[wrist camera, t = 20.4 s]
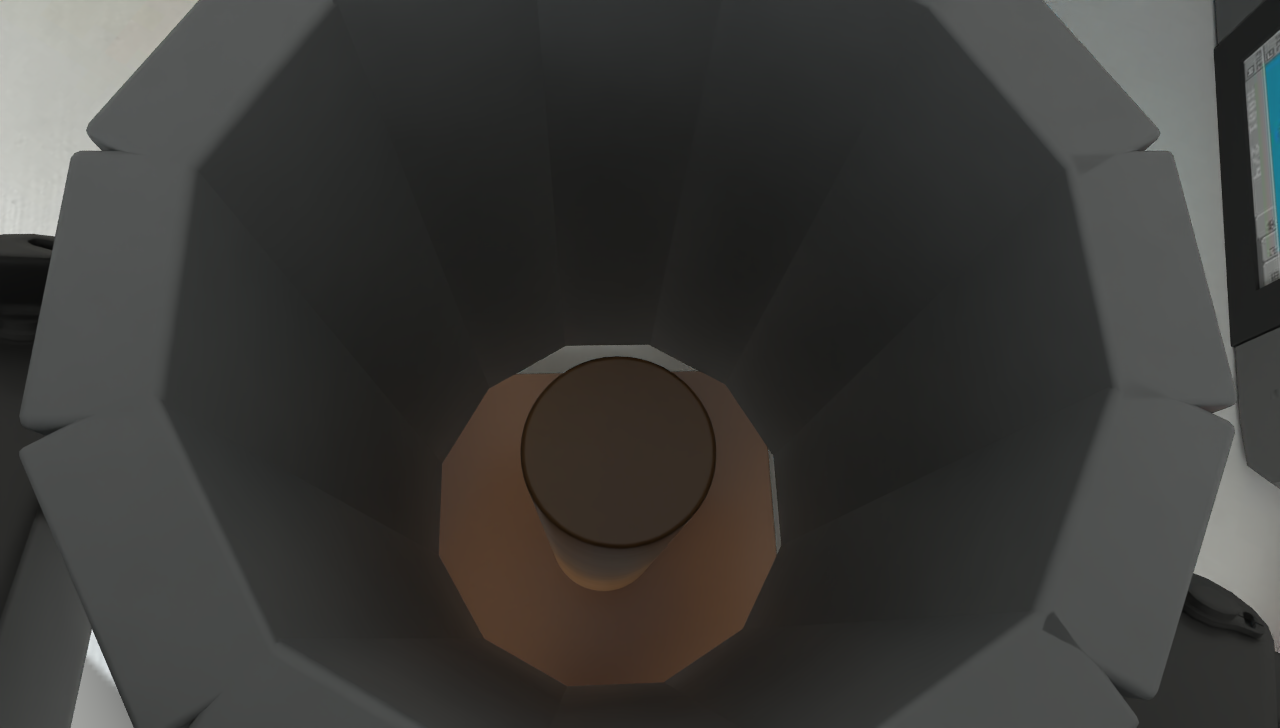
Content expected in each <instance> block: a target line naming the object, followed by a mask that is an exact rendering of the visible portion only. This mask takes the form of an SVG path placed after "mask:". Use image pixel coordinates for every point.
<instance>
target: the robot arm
mask: <svg viewBox="0 0 1280 728" xmlns="http://www.w3.org/2000/svg"><path fill="white" fill-rule="evenodd" d="M54 240H55V237H54V236H45V235H37V234H3V235H0V728H70V727H71V723H72V718H73V713H74V709H75V704H76V699H77V695H78V690H79V686H80V681H81V677H82V672H83V667H84V663H85V658H86V654H87V649H88V644H89V640H90V635H91V631H92V627H91V625H90V623H89V620H88V618H87V616H86V613H85V611H84V608H83V606H82V604H81V601H80V599H79V597H78V594H77V592H76V589H75V587H74V585H73V582H72V580H71V578H70V575H69V573H68V571H67V568H66V566H65V563H64V561H63V559H62V556H61V554H60V552H59V549H58V547H57V544H56V542H55V540H54V537H53V535H52V533H51V530H50V528H49V526H48V523H47V521H46V518H45V516H44V514H43V511H42V509H41V507H40V504H39V502H38V499H37V497H36V495H35V492H34V490H33V488H32V485H31V483H30V481H29V478H28V476H27V473H26V471H25V469H24V466H23V464H22V462H21V459H20V457H19V451H20V450H21V449H22V448H23V447H25V446H27V445H29V444H31V443H33V442H35V441H37V440H39V439H41V438H43V437H45V435H42V434H39V433H37V432H34V431H32V430H29V429H26V428H24V427H23V426H22V425H21V422H20V417H19V415H20V410H21V405H22V400H23V395H24V390H25V385H26V380H27V375H28V370H29V365H30V360H31V355H32V350H33V345H34V340H35V335H36V330H37V325H38V320H39V315H40V310H41V305H42V300H43V295H44V290H45V285H46V280H47V275H48V270H49V265H50V260H51V255H52V250H53V245H54ZM1123 698H1124V700H1125V701H1126V702H1127V704H1128V705H1129V707H1130V708H1131V709H1132V711H1133V712H1134V713H1135V715H1136V716H1137V718H1138V721H1139V724H1138V726H1137V728H1280V653H1278V652H1275V651H1274V640H1273V638H1272V635H1271V633H1270V630H1269V627H1268V626H1267V624H1266V623H1265V622H1264V621H1263V620H1262V619H1261V618H1260V616H1259V615H1258V614H1257V613H1256V612H1255V611H1254V610H1253V609H1252V608H1251V607H1250V606H1248V605H1247V604H1246V603H1244V602H1243V601H1242V600H1241V599H1239V598H1238V597H1237V596H1235V595H1234V594H1233V593H1232V592H1230V591H1228V590H1226V589H1224V588H1223V587H1221V586H1219V585H1217V584H1216V583H1214V582H1212V581H1210V580H1209V579H1207V578H1204V577H1201V576H1199V575H1196V574H1194V573H1193V575H1192V578H1191V582H1190V585H1189V589H1188V592H1187V595H1186V599H1185V602H1184V605H1183V609H1182V612H1181V615H1180V619H1179V622H1178V625H1177V629H1176V632H1175V636H1174V639H1173V642H1172V646H1171V649H1170V652H1169V656H1168V659H1167V662H1166V666H1165V669H1164V672H1163V676H1162V679H1161V683H1160V686H1159V689H1158V692H1157V694H1156V695H1155V696H1154V697H1153V698H1152V699H1150V700H1143V699H1134V698H1125V697H1123Z"/></svg>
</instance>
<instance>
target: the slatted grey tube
mask: <svg viewBox="0 0 1280 728" xmlns="http://www.w3.org/2000/svg"><path fill="white" fill-rule="evenodd" d="M86 131H87V134H88V136H89V137H90V138H91V140H92V141H93V142H94V143H95V144H96V145H97V146H98V147H99V148H100V149H101V150H102V151H79V152H76V153H74V155H73V156H72V157H71V160H70V165H69V170H68V175H67V180H66V185H65V190H64V195H63V200H62V205H61V210H60V215H59V220H58V225H57V230H56V235H55V240H54V245H53V250H52V255H51V260H50V265H49V270H48V275H47V280H46V285H45V290H44V295H43V300H42V305H41V310H40V315H39V320H38V325H37V330H36V335H35V340H34V345H33V350H32V355H31V360H30V365H29V370H28V375H27V380H26V385H25V390H24V395H23V400H22V405H21V410H20V415H19V417H20V422H21V425H22V426H23V427H24V428H26V429H29V430H32V431H34V432H37V433H39V434H42V435H45V437H43V438H41V439H39V440H37V441H35V442H33V443H31V444H29V445H27V446H25V447H23V448H22V449H21V450H20V451H19V457H20V459H21V462H22V464H23V466H24V469H25V471H26V473H27V476H28V478H29V481H30V483H31V485H32V488H33V490H34V492H35V495H36V497H37V499H38V502H39V504H40V507H41V509H42V511H43V514H44V516H45V518H46V521H47V523H48V526H49V528H50V530H51V533H52V535H53V537H54V540H55V542H56V544H57V547H58V549H59V552H60V554H61V556H62V559H63V561H64V563H65V566H66V568H67V571H68V573H69V575H70V578H71V580H72V582H73V585H74V587H75V589H76V592H77V594H78V597H79V599H80V601H81V604H82V606H83V608H84V611H85V613H86V616H87V618H88V620H89V623H90V625H91V627H92V630H93V632H94V634H95V637H96V639H97V642H98V644H99V646H100V649H101V651H102V653H103V656H104V658H105V661H106V663H107V665H108V668H109V670H110V672H111V675H112V677H113V679H114V682H115V684H116V687H117V689H118V691H119V694H120V696H121V698H122V700H123V703H124V705H125V708H126V710H127V712H128V715H129V717H130V719H131V722H132V724H133V727H134V728H1137V726H1138V724H1139V721H1138V718H1137V716H1136V715H1135V713H1134V712H1133V711H1132V709H1131V708H1130V707H1129V705H1128V704H1127V702H1126V701H1125V700H1124V698H1123V697H1125V698H1134V699H1143V700H1150V699H1152V698H1153V697H1154V696H1155V695H1156V694H1157V692H1158V689H1159V686H1160V683H1161V679H1162V676H1163V672H1164V669H1165V666H1166V662H1167V659H1168V656H1169V652H1170V649H1171V646H1172V642H1173V639H1174V636H1175V632H1176V629H1177V625H1178V622H1179V619H1180V615H1181V612H1182V609H1183V605H1184V602H1185V599H1186V595H1187V592H1188V589H1189V585H1190V582H1191V578H1192V575H1193V572H1194V568H1195V565H1196V562H1197V558H1198V555H1199V552H1200V548H1201V545H1202V542H1203V538H1204V535H1205V531H1206V528H1207V525H1208V521H1209V518H1210V515H1211V511H1212V508H1213V505H1214V501H1215V498H1216V494H1217V491H1218V488H1219V484H1220V481H1221V478H1222V474H1223V471H1224V468H1225V464H1226V461H1227V458H1228V454H1229V451H1230V447H1231V444H1232V441H1233V437H1234V434H1235V430H1234V426H1233V425H1232V424H1231V423H1230V422H1229V421H1226V420H1224V419H1222V418H1220V417H1218V416H1216V415H1214V414H1212V413H1214V412H1216V411H1219V410H1222V409H1225V408H1227V407H1230V406H1232V405H1234V404H1235V403H1236V402H1237V394H1236V390H1235V386H1234V382H1233V378H1232V375H1231V371H1230V367H1229V363H1228V360H1227V356H1226V352H1225V348H1224V345H1223V341H1222V337H1221V333H1220V330H1219V326H1218V322H1217V318H1216V314H1215V311H1214V307H1213V303H1212V299H1211V296H1210V292H1209V288H1208V284H1207V281H1206V277H1205V273H1204V269H1203V266H1202V262H1201V258H1200V254H1199V250H1198V247H1197V243H1196V239H1195V235H1194V232H1193V228H1192V224H1191V220H1190V217H1189V213H1188V209H1187V205H1186V202H1185V198H1184V194H1183V190H1182V186H1181V183H1180V179H1179V175H1178V171H1177V168H1176V164H1175V160H1174V156H1173V155H1172V153H1171V152H1168V151H1144V150H1146V149H1147V148H1148V147H1149V146H1150V145H1151V144H1152V143H1154V142H1155V141H1156V140H1157V139H1158V137H1159V135H1160V131H1159V129H1158V128H1157V127H1156V126H1155V125H1154V123H1153V122H1152V121H1151V120H1150V119H1149V118H1148V117H1147V116H1146V114H1145V113H1144V112H1143V111H1142V110H1141V109H1140V108H1139V107H1138V106H1137V104H1136V103H1135V102H1134V101H1133V100H1132V99H1131V98H1130V97H1129V96H1128V94H1127V93H1126V92H1125V91H1124V90H1123V89H1122V88H1121V87H1120V86H1119V84H1118V83H1117V82H1116V81H1115V80H1114V79H1113V78H1112V77H1111V76H1110V74H1109V73H1108V72H1107V71H1106V70H1105V69H1104V68H1103V67H1102V66H1101V64H1100V63H1099V62H1098V61H1097V60H1096V59H1095V58H1094V57H1093V56H1092V54H1091V53H1090V52H1089V51H1088V50H1087V49H1086V48H1085V47H1084V46H1083V44H1082V43H1081V42H1080V41H1079V40H1078V39H1077V38H1076V37H1075V36H1074V34H1073V33H1072V32H1071V31H1070V30H1069V29H1068V28H1067V27H1066V26H1065V24H1064V23H1063V22H1062V21H1061V20H1060V19H1059V18H1058V17H1057V16H1056V14H1055V13H1054V12H1053V11H1052V10H1051V9H1050V8H1049V7H1048V6H1047V4H1046V3H1045V2H1044V1H1043V0H199V1H198V2H197V3H196V4H195V6H194V7H193V8H192V9H191V10H190V11H189V12H188V13H187V14H186V16H185V17H184V18H183V19H182V20H181V21H180V22H179V23H178V24H177V26H176V27H175V28H174V29H173V30H172V31H171V32H170V33H169V35H168V36H167V37H166V38H165V39H164V40H163V41H162V42H161V43H160V45H159V46H158V47H157V48H156V49H155V50H154V51H153V52H152V53H151V55H150V56H149V57H148V58H147V59H146V60H145V61H144V62H143V64H142V65H141V66H140V67H139V68H138V69H137V70H136V71H135V72H134V74H133V75H132V76H131V77H130V78H129V79H128V80H127V81H126V83H125V84H124V85H123V86H122V87H121V88H120V89H119V90H118V91H117V93H116V94H115V95H114V96H113V97H112V98H111V99H110V100H109V101H108V103H107V104H106V105H105V106H104V107H103V108H102V109H101V110H100V112H99V113H98V114H97V115H96V116H95V117H94V118H93V119H92V120H91V122H90V123H89V124H88V127H87V130H86ZM576 345H650V346H652V347H654V348H656V349H658V350H660V351H662V352H664V353H666V354H668V355H670V356H672V357H673V358H675V359H677V360H679V361H681V362H683V363H685V364H687V365H689V366H691V367H693V368H695V369H696V370H698V371H700V372H702V373H704V374H706V375H708V376H710V377H712V378H714V379H716V380H718V381H720V382H721V383H723V384H725V385H726V386H727V388H728V389H729V391H730V392H731V394H732V395H733V397H734V398H735V400H736V401H737V403H738V404H739V406H740V407H741V408H742V410H743V411H744V413H745V414H746V416H747V417H748V419H749V420H750V422H751V423H752V425H753V426H754V428H755V429H756V431H757V432H758V434H759V435H760V437H761V438H762V440H763V441H764V443H765V444H766V446H767V447H768V449H769V450H770V452H771V453H772V455H773V456H774V466H775V477H776V489H777V501H778V512H779V524H780V536H781V548H780V550H779V552H778V554H777V556H776V558H775V560H774V563H773V565H772V567H771V569H770V571H769V573H768V575H767V578H766V580H765V582H764V584H763V586H762V588H761V590H760V593H759V595H758V597H757V599H756V601H755V603H754V605H753V608H752V610H751V612H750V614H749V616H748V618H747V620H746V623H745V625H744V627H743V629H742V630H740V631H739V632H737V633H736V634H734V635H733V636H731V637H730V638H728V639H727V640H725V641H724V642H722V643H721V644H720V645H718V646H717V647H715V648H714V649H712V650H711V651H709V652H708V653H706V654H705V655H703V656H702V657H700V658H699V659H697V660H696V661H694V662H693V663H691V664H690V665H689V666H687V667H686V668H684V669H683V670H681V671H680V672H678V673H677V674H675V675H674V676H672V677H671V678H669V679H668V680H666V681H665V682H660V683H635V684H610V685H586V686H566V685H564V684H563V683H561V682H559V681H557V680H556V679H554V678H552V677H550V676H549V675H547V674H545V673H543V672H542V671H540V670H538V669H536V668H535V667H533V666H531V665H529V664H528V663H526V662H524V661H522V660H521V659H519V658H517V657H515V656H514V655H512V654H510V653H508V652H507V651H505V650H503V649H501V648H500V647H498V646H496V645H494V644H493V643H491V642H489V641H487V640H486V639H484V637H483V635H482V634H481V632H480V630H479V628H478V626H477V624H476V623H475V621H474V619H473V617H472V615H471V613H470V612H469V610H468V608H467V606H466V604H465V602H464V601H463V599H462V597H461V595H460V593H459V591H458V589H457V588H456V586H455V584H454V582H453V580H452V578H451V577H450V575H449V573H448V571H447V569H446V567H445V566H444V564H443V562H442V560H441V558H440V556H439V536H440V510H441V484H442V463H443V462H444V460H445V458H446V457H447V455H448V454H449V452H450V450H451V449H452V447H453V446H454V444H455V442H456V441H457V439H458V437H459V436H460V434H461V433H462V431H463V429H464V428H465V426H466V425H467V423H468V421H469V420H470V418H471V417H472V415H473V413H474V412H475V410H476V409H477V407H478V405H479V404H480V402H481V401H482V399H483V397H484V396H485V394H486V393H487V391H488V389H489V388H491V387H493V386H495V385H497V384H498V383H500V382H502V381H504V380H505V379H507V378H509V377H511V376H513V375H514V374H516V373H518V372H520V371H522V370H523V369H525V368H527V367H529V366H531V365H532V364H534V363H536V362H538V361H539V360H541V359H543V358H545V357H547V356H548V355H550V354H552V353H554V352H556V351H557V350H559V349H561V348H563V347H565V346H576Z"/></svg>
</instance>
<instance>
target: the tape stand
mask: <svg viewBox="0 0 1280 728" xmlns="http://www.w3.org/2000/svg"><path fill="white" fill-rule="evenodd" d="M439 556H440V558H441V560H442V562H443V564H444V566H445V567H446V569H447V571H448V573H449V575H450V577H451V578H452V580H453V582H454V584H455V586H456V588H457V589H458V591H459V593H460V595H461V597H462V599H463V601H464V602H465V604H466V606H467V608H468V610H469V612H470V613H471V615H472V617H473V619H474V621H475V623H476V624H477V626H478V628H479V630H480V632H481V634H482V635H483V637H484V639H486V640H487V641H489V642H491V643H493V644H494V645H496V646H498V647H500V648H501V649H503V650H505V651H507V652H508V653H510V654H512V655H514V656H515V657H517V658H519V659H521V660H522V661H524V662H526V663H528V664H529V665H531V666H533V667H535V668H536V669H538V670H540V671H542V672H543V673H545V674H547V675H549V676H550V677H552V678H554V679H556V680H557V681H559V682H561V683H563V684H564V685H566V686H586V685H610V684H635V683H660V682H665V681H666V680H668V679H669V678H671V677H672V676H674V675H675V674H677V673H678V672H680V671H681V670H683V669H684V668H686V667H687V666H689V665H690V664H691V663H693V662H694V661H696V660H697V659H699V658H700V657H702V656H703V655H705V654H706V653H708V652H709V651H711V650H712V649H714V648H715V647H717V646H718V645H720V644H721V643H722V642H724V641H725V640H727V639H728V638H730V637H731V636H733V635H734V634H736V633H737V632H739V631H740V630H742V629H743V627H744V625H745V623H746V620H747V618H748V616H749V614H750V612H751V610H752V608H753V605H754V603H755V601H756V599H757V597H758V595H759V593H760V590H761V588H762V586H763V584H764V582H765V580H766V578H767V575H768V573H769V571H770V569H771V567H772V565H773V563H774V560H775V558H776V556H777V550H776V538H775V526H774V514H773V502H772V490H771V478H770V466H769V454H768V447H767V446H766V444H765V443H764V441H763V440H762V438H761V437H760V435H759V434H758V432H757V431H756V429H755V428H754V426H753V425H752V423H751V422H750V420H749V419H748V417H747V416H746V414H745V413H744V411H743V410H742V408H741V407H740V406H739V404H738V403H737V401H736V400H735V398H734V397H733V395H732V394H731V392H730V391H729V389H728V388H727V386H726V385H725V384H723V383H721V382H720V381H718V380H716V379H714V378H712V377H710V376H708V375H706V374H704V373H702V372H700V371H673V372H670V371H669V370H667V369H665V368H664V367H661V366H659V365H657V364H655V363H652V362H649V361H646V360H642V359H638V358H632V357H619V356H615V357H603V358H599V359H594V360H590V361H587V362H584V363H581V364H579V365H577V366H575V367H573V368H571V369H569V370H567V371H566V372H564V373H539V374H514V375H513V376H511V377H509V378H507V379H505V380H504V381H502V382H500V383H498V384H497V385H495V386H493V387H491V388H489V389H488V391H487V393H486V394H485V396H484V397H483V399H482V401H481V402H480V404H479V405H478V407H477V409H476V410H475V412H474V413H473V415H472V417H471V418H470V420H469V421H468V423H467V425H466V426H465V428H464V429H463V431H462V433H461V434H460V436H459V437H458V439H457V441H456V442H455V444H454V446H453V447H452V449H451V450H450V452H449V454H448V455H447V457H446V458H445V460H444V462H443V463H442V484H441V510H440V536H439Z"/></svg>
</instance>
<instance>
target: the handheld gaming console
mask: <svg viewBox="0 0 1280 728" xmlns="http://www.w3.org/2000/svg"><path fill="white" fill-rule="evenodd" d="M1215 4H1216V21H1217V38H1218V44H1219V45H1218V46H1217V47H1216V48H1215V49H1214V59H1215V76H1216V94H1217V111H1218V128H1219V146H1220V163H1221V180H1222V198H1223V215H1224V232H1225V250H1226V267H1227V284H1228V302H1229V319H1230V337H1231V346H1232V347H1235V349H1236V366H1237V382H1238V399H1239V416H1240V423H1241V429H1242V435H1243V442H1244V448H1245V454H1246V460H1247V465H1248V466H1249V467H1250V468H1252V469H1253V470H1254V471H1256V472H1257V473H1258V474H1260V475H1261V476H1263V477H1264V478H1265V479H1267V480H1268V481H1270V482H1271V483H1272V484H1274V485H1275V486H1277V487H1278V488H1279V489H1280V0H1215Z"/></svg>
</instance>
